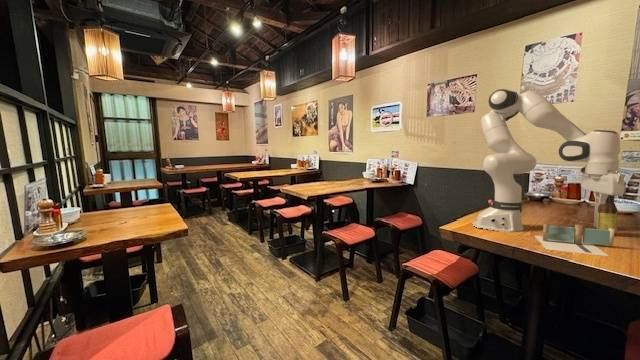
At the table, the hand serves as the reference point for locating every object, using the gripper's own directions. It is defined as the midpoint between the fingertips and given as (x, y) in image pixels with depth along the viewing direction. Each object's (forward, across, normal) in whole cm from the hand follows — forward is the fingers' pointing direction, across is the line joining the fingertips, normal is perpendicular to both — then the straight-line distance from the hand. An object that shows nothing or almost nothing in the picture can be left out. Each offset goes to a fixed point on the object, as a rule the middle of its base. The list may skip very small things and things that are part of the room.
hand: (600, 203), depth 106 cm
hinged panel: (+16, -3, +2) cm, 17 cm away
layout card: (+17, -5, +12) cm, 22 cm away
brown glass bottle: (+17, +28, -15) cm, 36 cm away
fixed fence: (+17, -2, +13) cm, 21 cm away
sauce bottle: (+18, +16, -11) cm, 26 cm away
